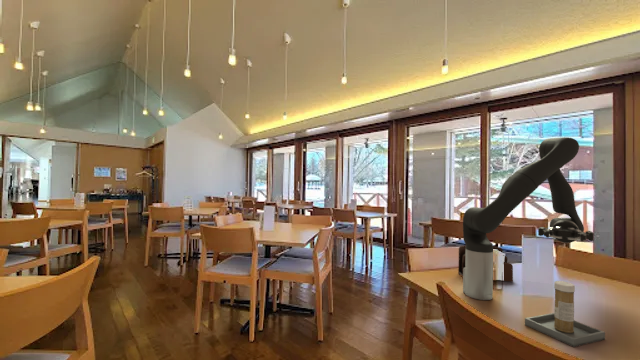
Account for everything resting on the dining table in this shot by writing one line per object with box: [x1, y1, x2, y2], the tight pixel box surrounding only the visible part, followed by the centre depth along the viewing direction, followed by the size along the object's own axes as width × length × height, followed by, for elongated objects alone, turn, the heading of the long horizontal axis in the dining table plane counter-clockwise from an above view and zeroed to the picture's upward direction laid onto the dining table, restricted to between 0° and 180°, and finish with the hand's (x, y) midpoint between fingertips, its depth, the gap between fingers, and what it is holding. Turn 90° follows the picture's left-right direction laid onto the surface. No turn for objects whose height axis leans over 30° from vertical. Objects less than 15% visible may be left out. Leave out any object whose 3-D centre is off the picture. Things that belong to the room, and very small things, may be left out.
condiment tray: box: [524, 312, 606, 348], centre depth 86 cm, size 13×13×2 cm
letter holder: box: [457, 245, 514, 283], centre depth 137 cm, size 10×20×14 cm, turn 85°
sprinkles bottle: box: [553, 280, 576, 333], centre depth 86 cm, size 5×5×14 cm
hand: (564, 236), depth 96 cm, fingers open, 8 cm apart
